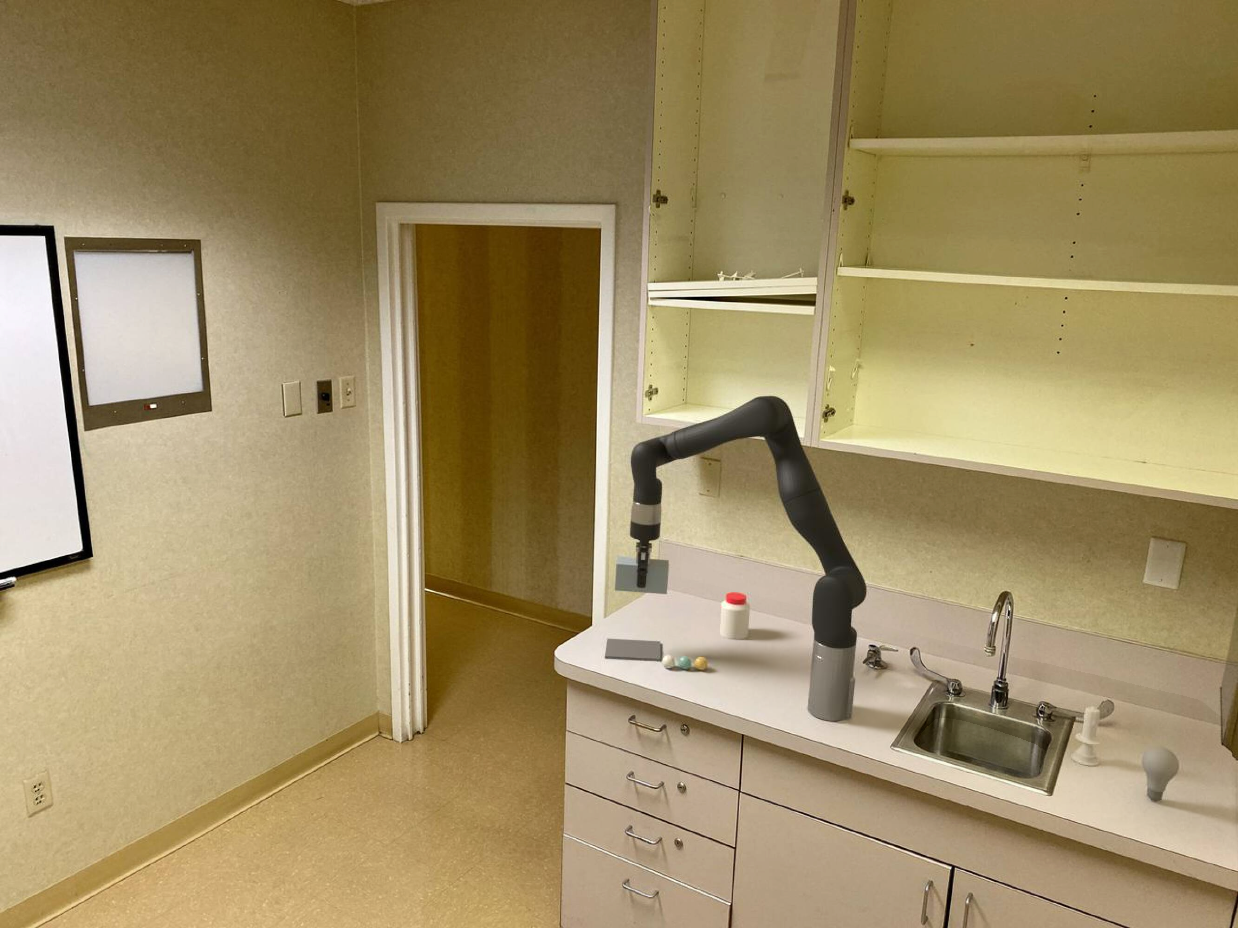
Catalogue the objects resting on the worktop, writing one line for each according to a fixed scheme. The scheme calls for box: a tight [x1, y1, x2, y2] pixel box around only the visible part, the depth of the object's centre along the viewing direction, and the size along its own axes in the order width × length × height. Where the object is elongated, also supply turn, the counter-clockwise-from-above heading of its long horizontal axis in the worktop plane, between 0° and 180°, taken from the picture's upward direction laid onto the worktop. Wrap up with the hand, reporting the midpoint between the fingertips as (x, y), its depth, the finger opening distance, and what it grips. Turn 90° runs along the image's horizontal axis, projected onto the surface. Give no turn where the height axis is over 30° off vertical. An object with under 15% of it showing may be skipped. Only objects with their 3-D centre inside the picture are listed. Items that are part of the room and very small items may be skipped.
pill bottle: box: [719, 591, 751, 641], centre depth 244 cm, size 8×8×11 cm
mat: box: [604, 638, 661, 662], centre depth 232 cm, size 14×11×1 cm
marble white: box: [661, 654, 676, 669], centre depth 223 cm, size 3×3×3 cm
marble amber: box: [694, 656, 708, 671], centre depth 223 cm, size 3×3×3 cm
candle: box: [1070, 705, 1102, 767], centre depth 186 cm, size 5×5×12 cm
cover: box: [614, 556, 670, 595], centre depth 227 cm, size 13×6×7 cm, turn 87°
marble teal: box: [678, 655, 692, 670], centre depth 223 cm, size 3×3×3 cm
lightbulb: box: [1141, 745, 1180, 802], centre depth 172 cm, size 6×6×11 cm
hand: (641, 582), depth 228 cm, fingers closed on cover, 5 cm apart
